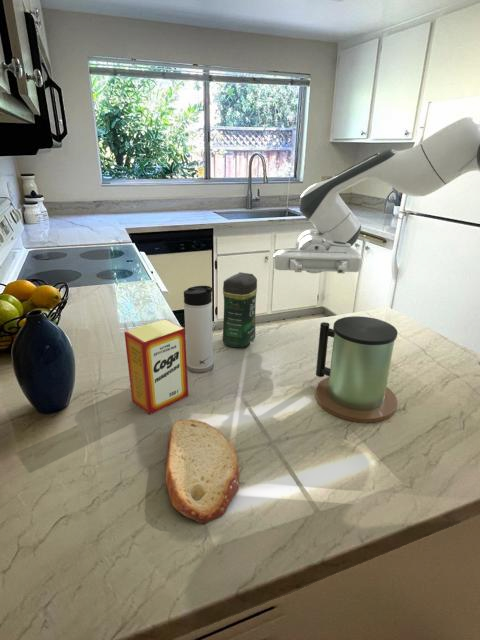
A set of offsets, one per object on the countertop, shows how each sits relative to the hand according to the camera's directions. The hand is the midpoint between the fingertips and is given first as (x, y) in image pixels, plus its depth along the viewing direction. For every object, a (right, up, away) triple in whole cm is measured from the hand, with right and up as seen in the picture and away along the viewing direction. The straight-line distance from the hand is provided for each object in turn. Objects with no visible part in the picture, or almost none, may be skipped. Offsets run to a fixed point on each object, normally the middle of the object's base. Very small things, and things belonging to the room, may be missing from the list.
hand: (319, 269), depth 89 cm
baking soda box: (-34, -28, -5) cm, 44 cm away
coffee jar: (-18, -17, +21) cm, 32 cm away
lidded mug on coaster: (+6, -27, -7) cm, 29 cm away
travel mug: (-27, -23, +7) cm, 36 cm away
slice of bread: (-25, -35, -23) cm, 49 cm away
